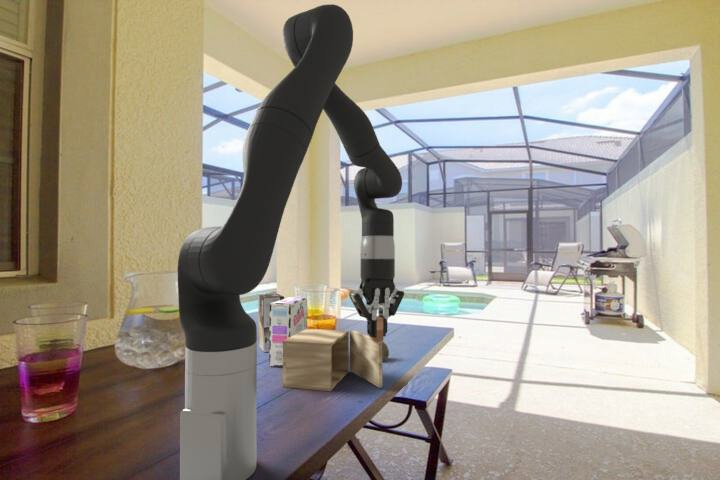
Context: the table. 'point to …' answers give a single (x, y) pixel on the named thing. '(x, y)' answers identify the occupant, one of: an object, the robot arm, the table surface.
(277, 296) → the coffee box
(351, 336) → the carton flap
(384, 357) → the lime
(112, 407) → the table surface
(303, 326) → the candy box
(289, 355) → the carton
